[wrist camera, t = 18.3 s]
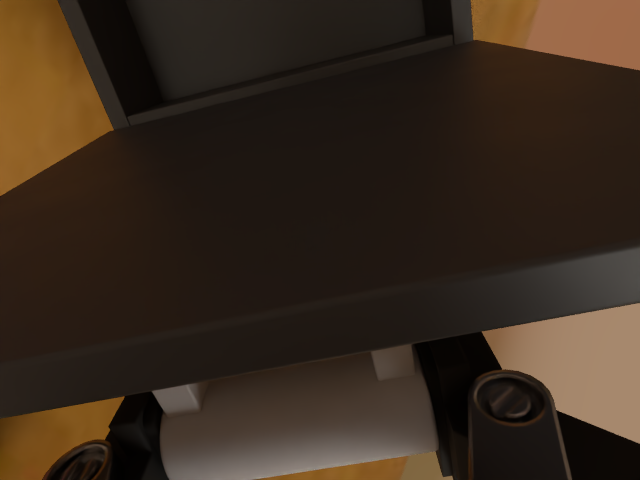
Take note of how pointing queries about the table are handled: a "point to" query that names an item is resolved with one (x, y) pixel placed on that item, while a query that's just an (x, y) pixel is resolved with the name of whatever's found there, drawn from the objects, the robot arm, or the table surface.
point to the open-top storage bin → (243, 46)
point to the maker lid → (319, 252)
